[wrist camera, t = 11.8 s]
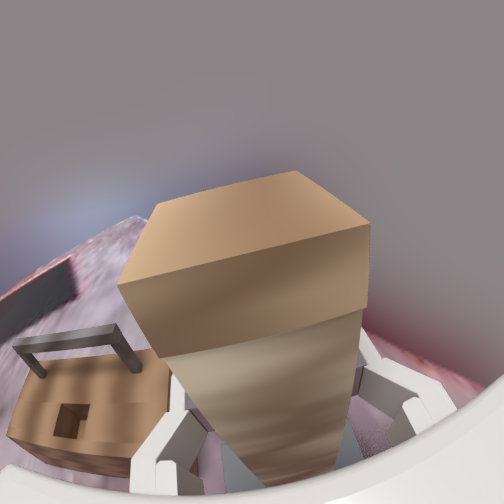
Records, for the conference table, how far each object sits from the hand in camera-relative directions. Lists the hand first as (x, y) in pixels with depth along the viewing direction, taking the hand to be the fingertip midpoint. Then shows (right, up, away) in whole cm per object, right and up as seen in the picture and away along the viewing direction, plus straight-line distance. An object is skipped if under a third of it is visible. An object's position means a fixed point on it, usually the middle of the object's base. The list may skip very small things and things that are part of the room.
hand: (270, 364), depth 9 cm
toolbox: (-19, -20, +18) cm, 32 cm away
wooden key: (+2, -8, +4) cm, 9 cm away
